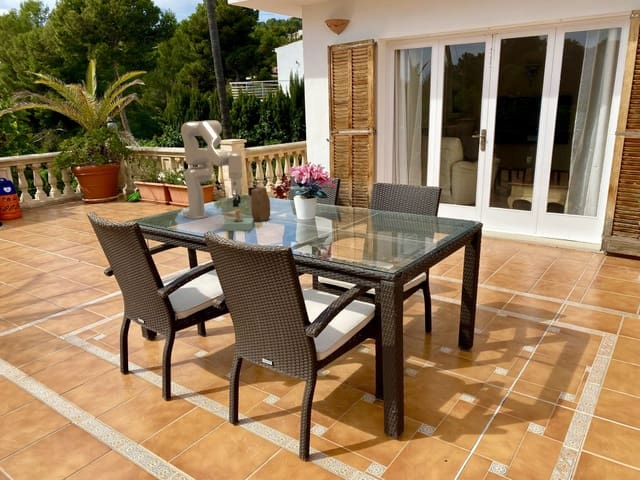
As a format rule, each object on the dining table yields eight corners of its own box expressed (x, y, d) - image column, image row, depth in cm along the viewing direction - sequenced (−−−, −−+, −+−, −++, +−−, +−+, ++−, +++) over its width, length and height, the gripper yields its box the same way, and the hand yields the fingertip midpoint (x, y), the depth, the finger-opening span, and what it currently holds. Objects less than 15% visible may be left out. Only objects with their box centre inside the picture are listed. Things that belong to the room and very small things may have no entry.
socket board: (223, 231, 280) (222, 224, 279) (226, 225, 293) (226, 218, 292) (251, 230, 280) (251, 223, 279) (253, 224, 294) (253, 217, 293)
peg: (235, 228, 285) (234, 211, 282) (236, 227, 288) (235, 210, 286) (241, 228, 285) (240, 211, 282) (242, 226, 289) (241, 210, 286)
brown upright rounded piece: (258, 222, 298) (256, 189, 293) (250, 220, 303) (249, 188, 298) (272, 219, 306) (270, 187, 300) (264, 217, 311) (263, 186, 305)
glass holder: (252, 208, 340) (251, 186, 336) (271, 209, 335) (270, 187, 331) (246, 211, 332) (245, 188, 328) (265, 212, 327) (264, 189, 323)
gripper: (240, 177, 271) (241, 208, 275) (243, 173, 287) (244, 201, 292) (226, 178, 270) (228, 208, 275) (230, 173, 287) (232, 201, 292)
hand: (236, 205), depth 284 cm, fingers open, 9 cm apart
